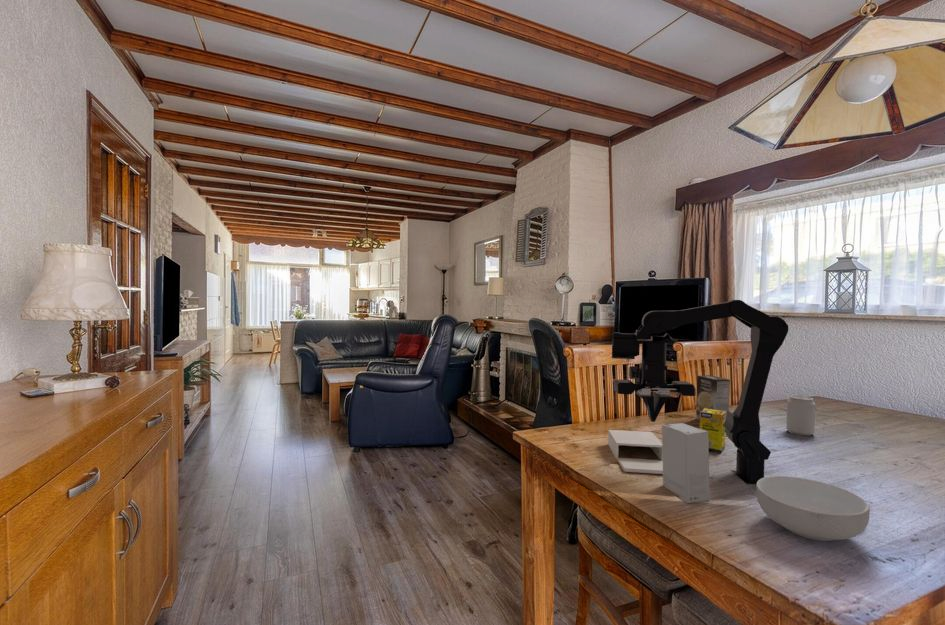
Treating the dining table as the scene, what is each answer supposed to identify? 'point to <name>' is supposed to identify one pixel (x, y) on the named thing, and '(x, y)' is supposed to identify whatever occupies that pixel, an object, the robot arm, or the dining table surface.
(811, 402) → the can
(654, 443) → the carton
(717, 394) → the coffee box
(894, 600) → the dining table surface
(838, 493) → the cereal bowl
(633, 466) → the flap
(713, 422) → the supplement box
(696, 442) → the skincare box
